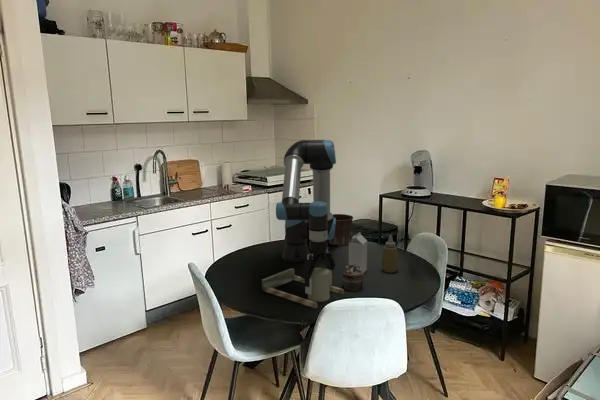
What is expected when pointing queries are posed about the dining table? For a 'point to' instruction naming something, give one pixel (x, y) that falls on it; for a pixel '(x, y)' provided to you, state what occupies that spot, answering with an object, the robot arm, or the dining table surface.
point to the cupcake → (352, 278)
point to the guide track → (286, 277)
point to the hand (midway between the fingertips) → (318, 288)
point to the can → (320, 285)
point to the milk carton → (358, 252)
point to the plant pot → (342, 230)
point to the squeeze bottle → (390, 256)
